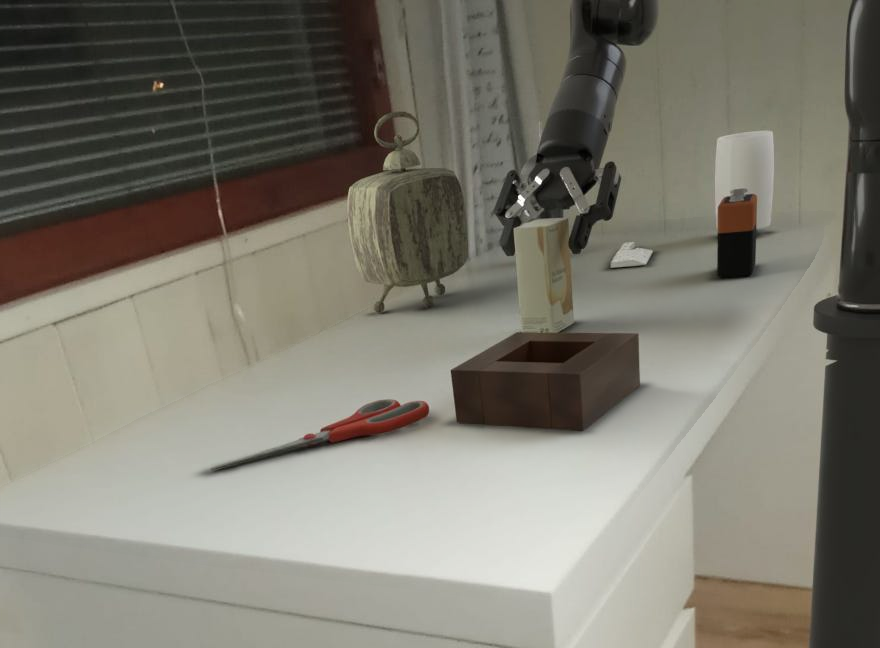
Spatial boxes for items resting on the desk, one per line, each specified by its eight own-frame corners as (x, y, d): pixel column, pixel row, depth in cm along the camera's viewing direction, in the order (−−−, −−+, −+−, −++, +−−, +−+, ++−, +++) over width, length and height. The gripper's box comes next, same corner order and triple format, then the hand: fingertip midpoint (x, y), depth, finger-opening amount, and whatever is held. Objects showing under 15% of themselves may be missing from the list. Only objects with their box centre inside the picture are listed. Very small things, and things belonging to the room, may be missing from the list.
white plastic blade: (656, 245, 156) (656, 238, 155) (645, 266, 143) (645, 258, 143) (623, 248, 157) (623, 240, 157) (609, 268, 145) (609, 260, 145)
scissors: (208, 470, 90) (205, 455, 90) (393, 405, 100) (391, 391, 100) (248, 488, 85) (244, 472, 84) (440, 417, 94) (438, 403, 94)
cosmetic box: (554, 336, 115) (546, 226, 110) (520, 336, 117) (511, 228, 112) (576, 322, 120) (570, 215, 114) (543, 322, 122) (535, 217, 116)
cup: (782, 229, 153) (785, 128, 147) (756, 240, 148) (758, 136, 142) (730, 230, 159) (731, 132, 152) (704, 241, 154) (704, 141, 147)
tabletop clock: (444, 292, 148) (422, 106, 136) (481, 297, 141) (461, 101, 129) (362, 315, 142) (331, 122, 130) (396, 321, 135) (367, 118, 123)
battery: (755, 265, 133) (757, 186, 129) (752, 276, 128) (754, 193, 123) (721, 268, 135) (722, 189, 130) (716, 279, 129) (717, 197, 125)
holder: (640, 385, 94) (638, 333, 92) (583, 431, 85) (579, 374, 83) (520, 381, 101) (516, 332, 99) (456, 422, 92) (450, 369, 90)
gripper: (511, 113, 117) (472, 234, 115) (624, 99, 110) (586, 228, 107) (535, 155, 124) (498, 271, 121) (644, 145, 116) (608, 268, 113)
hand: (539, 251), depth 114 cm, fingers open, 8 cm apart
